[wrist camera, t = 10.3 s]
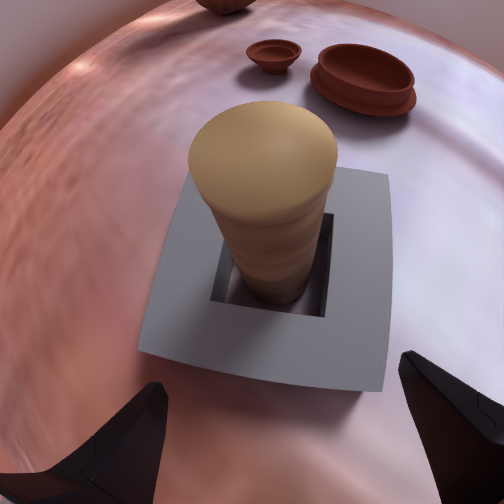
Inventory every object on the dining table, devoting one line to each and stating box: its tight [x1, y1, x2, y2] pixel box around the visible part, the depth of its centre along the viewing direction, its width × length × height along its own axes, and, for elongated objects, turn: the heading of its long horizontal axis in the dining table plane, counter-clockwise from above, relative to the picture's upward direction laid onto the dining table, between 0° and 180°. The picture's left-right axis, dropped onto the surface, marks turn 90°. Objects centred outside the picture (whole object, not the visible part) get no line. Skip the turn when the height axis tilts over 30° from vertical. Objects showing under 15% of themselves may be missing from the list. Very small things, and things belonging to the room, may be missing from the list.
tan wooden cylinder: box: [188, 101, 338, 306], centre depth 14 cm, size 5×5×12 cm
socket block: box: [137, 167, 393, 392], centre depth 18 cm, size 14×14×4 cm
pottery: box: [246, 39, 416, 117], centre depth 26 cm, size 12×20×4 cm, turn 58°
